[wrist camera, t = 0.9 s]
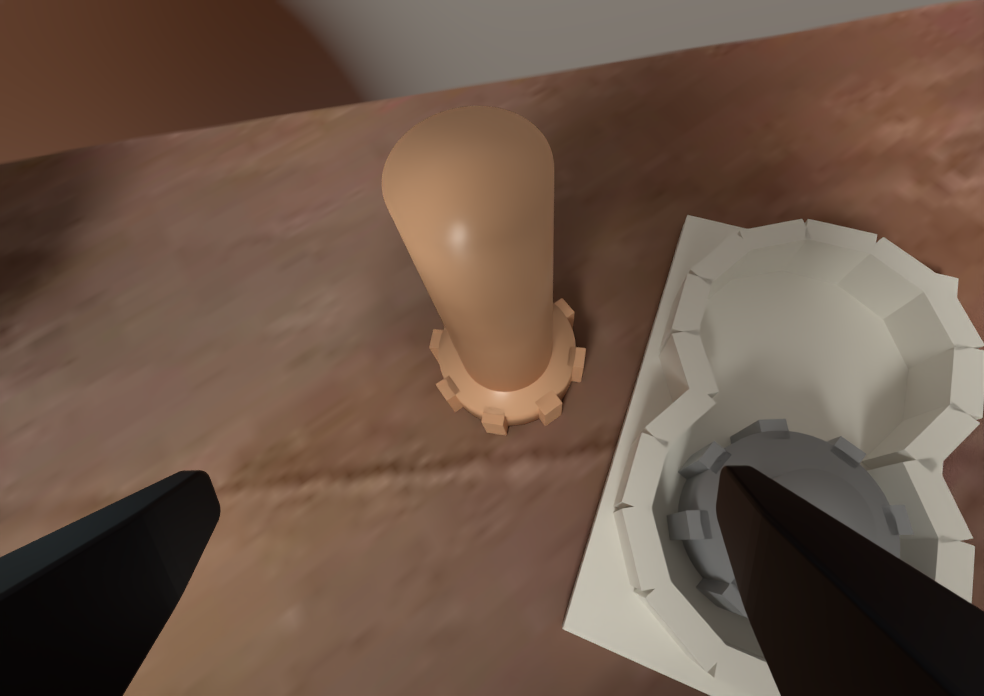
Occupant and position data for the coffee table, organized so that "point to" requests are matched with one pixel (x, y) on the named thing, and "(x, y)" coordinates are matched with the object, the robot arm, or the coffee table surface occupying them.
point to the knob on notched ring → (487, 261)
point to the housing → (777, 433)
